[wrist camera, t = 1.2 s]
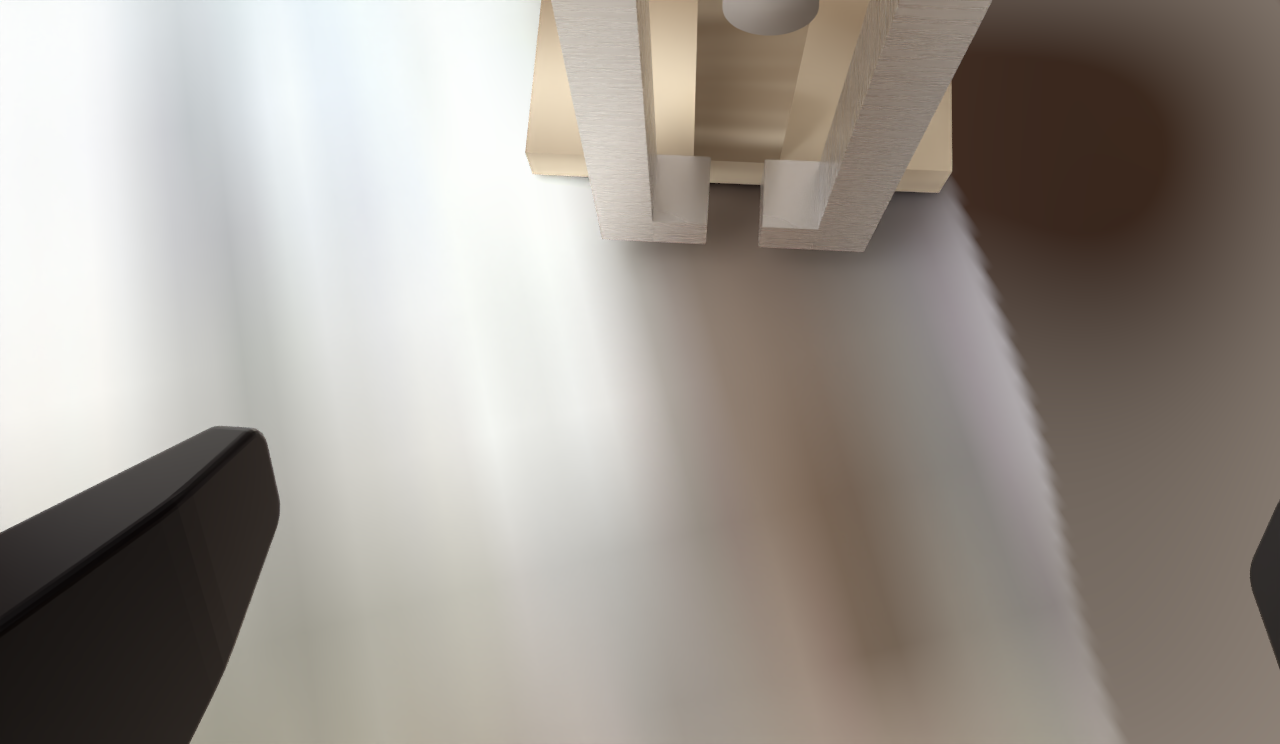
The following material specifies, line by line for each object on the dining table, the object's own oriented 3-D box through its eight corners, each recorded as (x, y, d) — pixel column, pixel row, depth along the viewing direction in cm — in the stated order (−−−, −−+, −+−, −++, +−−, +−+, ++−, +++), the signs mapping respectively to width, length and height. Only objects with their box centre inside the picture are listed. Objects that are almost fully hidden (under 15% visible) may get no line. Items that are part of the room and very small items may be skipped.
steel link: (863, 251, 22) (1067, -149, 10) (601, 239, 22) (515, -164, 11) (864, 187, 22) (1062, -270, 11) (607, 175, 23) (529, -280, 11)
